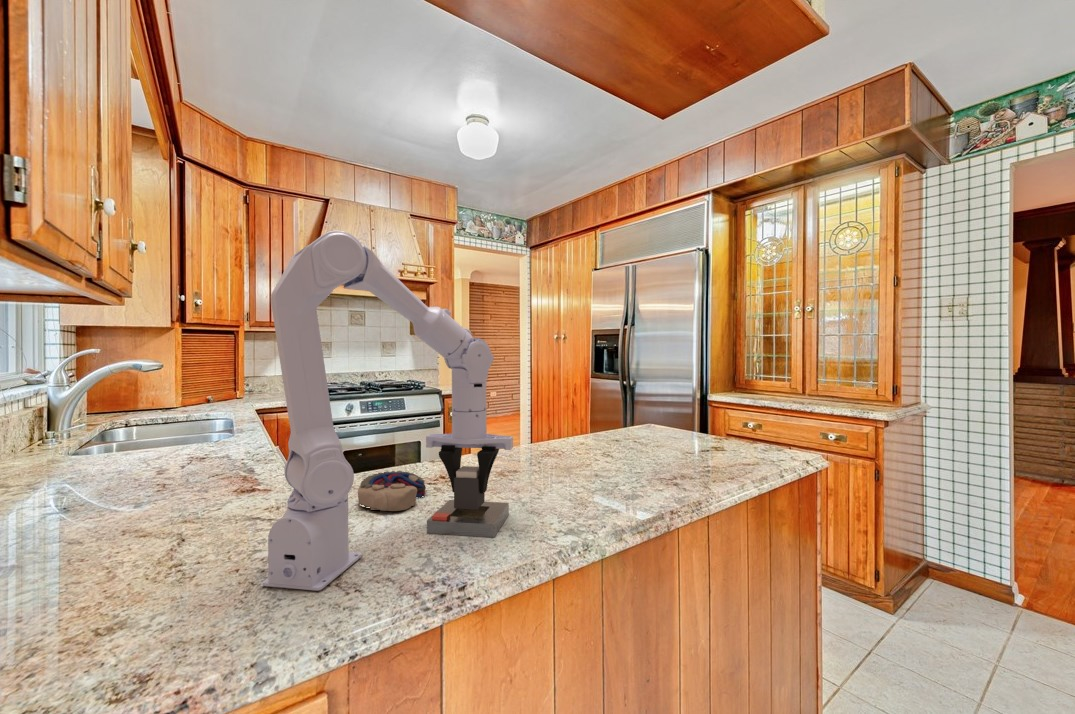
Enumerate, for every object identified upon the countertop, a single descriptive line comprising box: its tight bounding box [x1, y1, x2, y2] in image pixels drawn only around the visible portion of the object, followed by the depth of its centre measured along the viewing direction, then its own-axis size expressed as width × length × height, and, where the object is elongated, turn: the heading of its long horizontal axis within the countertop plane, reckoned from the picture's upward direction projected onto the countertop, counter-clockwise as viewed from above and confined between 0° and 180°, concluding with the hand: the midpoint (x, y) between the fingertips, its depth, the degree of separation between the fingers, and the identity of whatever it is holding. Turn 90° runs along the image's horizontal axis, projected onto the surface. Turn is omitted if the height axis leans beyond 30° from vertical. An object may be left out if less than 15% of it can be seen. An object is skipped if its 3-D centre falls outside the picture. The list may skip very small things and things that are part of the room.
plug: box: [453, 465, 486, 510], centre depth 74 cm, size 4×4×6 cm
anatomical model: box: [357, 470, 427, 512], centre depth 86 cm, size 12×16×5 cm
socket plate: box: [426, 499, 510, 538], centre depth 74 cm, size 10×11×3 cm
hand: (469, 491), depth 74 cm, fingers closed on plug, 4 cm apart
